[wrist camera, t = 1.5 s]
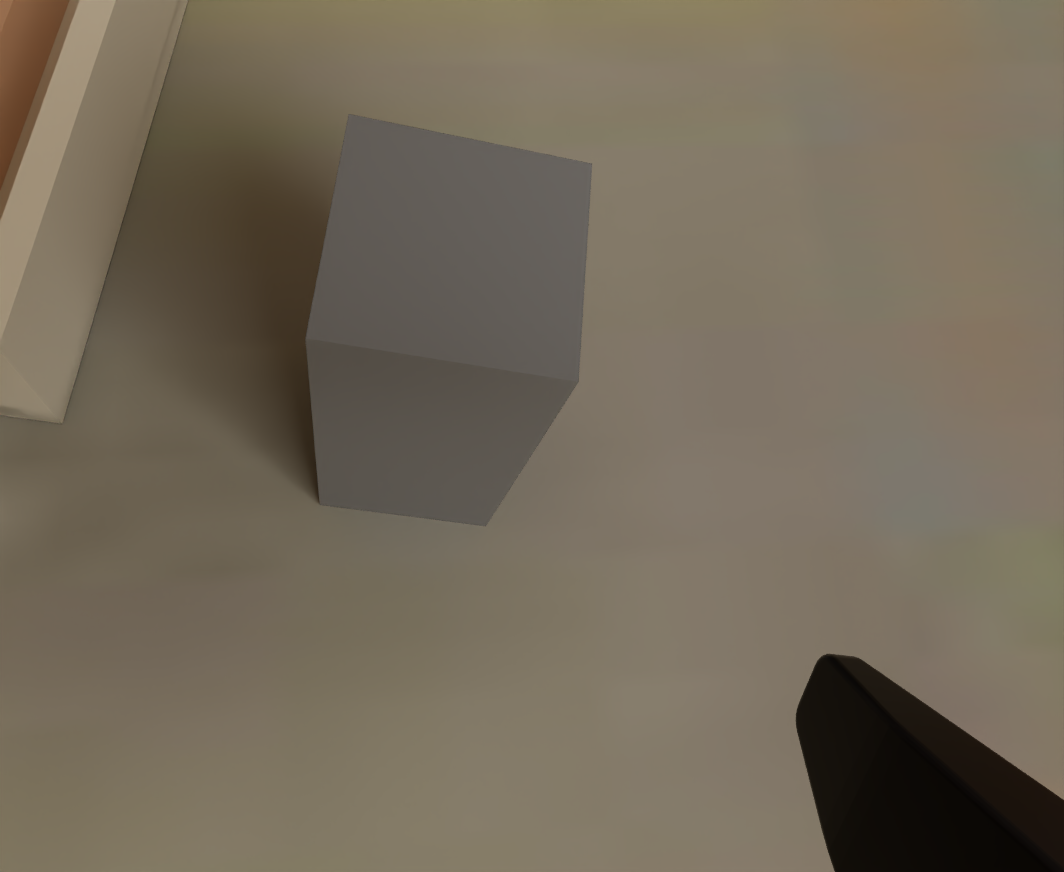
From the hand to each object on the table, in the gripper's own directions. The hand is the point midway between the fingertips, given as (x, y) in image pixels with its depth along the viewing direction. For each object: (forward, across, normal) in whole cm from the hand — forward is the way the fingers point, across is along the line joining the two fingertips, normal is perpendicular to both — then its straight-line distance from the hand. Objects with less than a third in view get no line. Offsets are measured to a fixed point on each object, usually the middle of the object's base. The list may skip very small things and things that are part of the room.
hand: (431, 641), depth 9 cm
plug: (+14, 0, +4) cm, 15 cm away
